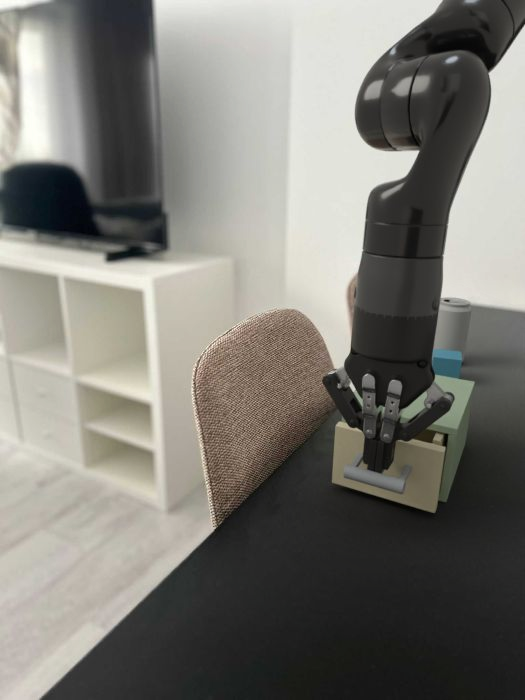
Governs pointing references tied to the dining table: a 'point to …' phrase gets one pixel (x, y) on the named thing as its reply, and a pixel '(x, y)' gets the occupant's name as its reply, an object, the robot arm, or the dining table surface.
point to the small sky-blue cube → (447, 363)
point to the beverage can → (452, 325)
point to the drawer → (393, 467)
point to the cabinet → (446, 424)
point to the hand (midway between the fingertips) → (376, 468)
